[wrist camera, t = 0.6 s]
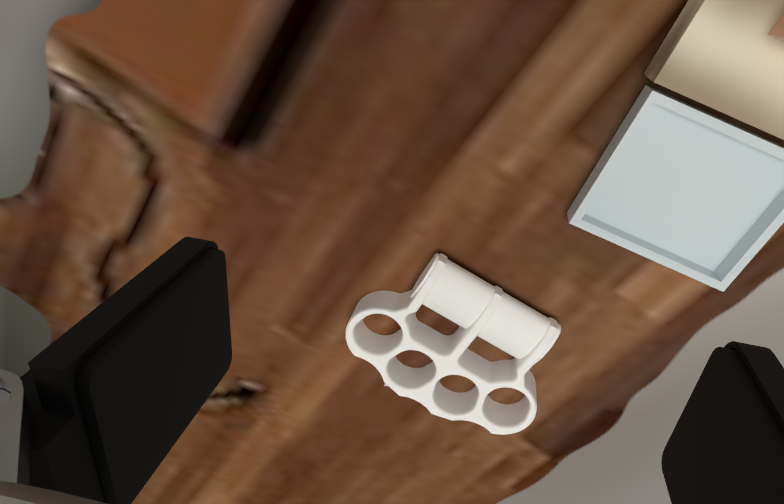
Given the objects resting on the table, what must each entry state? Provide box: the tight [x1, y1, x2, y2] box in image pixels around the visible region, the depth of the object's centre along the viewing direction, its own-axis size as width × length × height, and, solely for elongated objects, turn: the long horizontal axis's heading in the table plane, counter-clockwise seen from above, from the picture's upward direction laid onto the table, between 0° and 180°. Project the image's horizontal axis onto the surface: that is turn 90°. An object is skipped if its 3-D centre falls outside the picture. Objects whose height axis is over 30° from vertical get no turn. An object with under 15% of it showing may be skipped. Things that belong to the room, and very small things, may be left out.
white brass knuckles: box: [346, 253, 561, 435], centre depth 46 cm, size 3×18×15 cm
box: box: [567, 85, 784, 292], centre depth 36 cm, size 10×12×2 cm
